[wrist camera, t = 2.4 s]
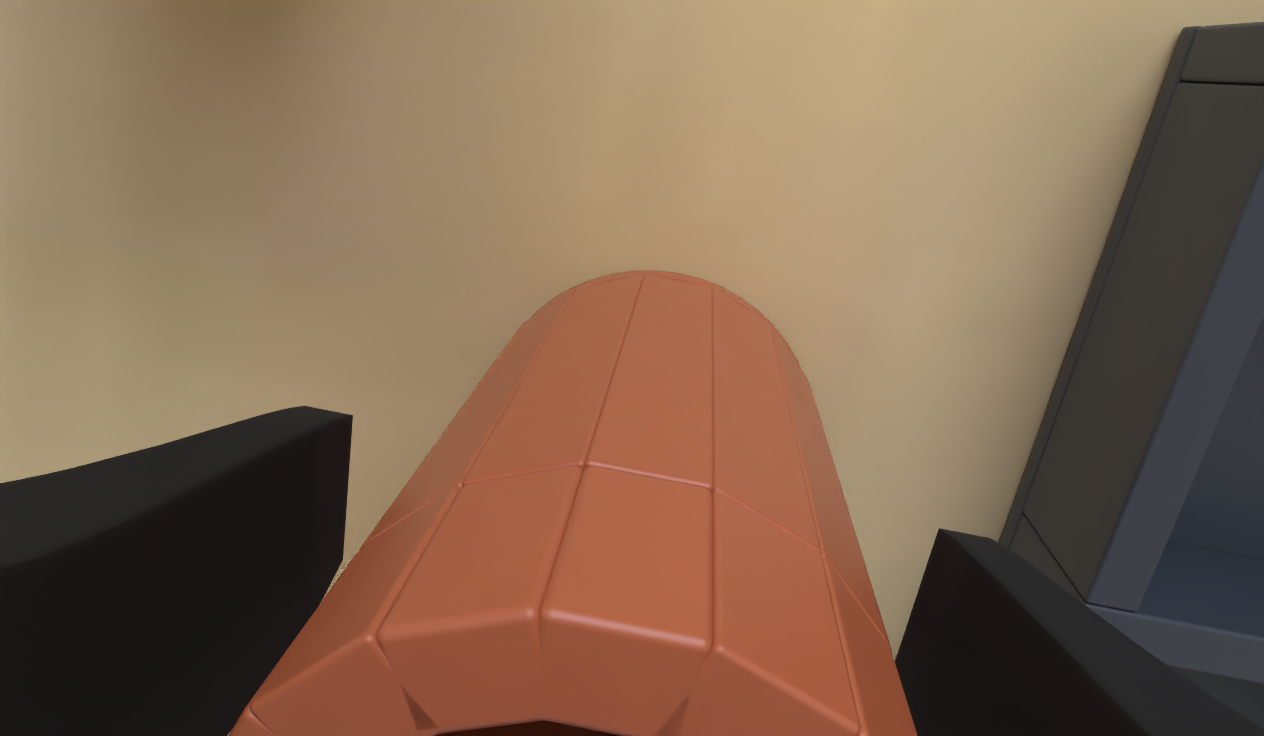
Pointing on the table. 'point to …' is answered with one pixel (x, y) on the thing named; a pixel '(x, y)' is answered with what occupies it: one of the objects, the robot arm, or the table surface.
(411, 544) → the jar
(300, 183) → the table surface
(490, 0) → the table surface
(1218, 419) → the tray
